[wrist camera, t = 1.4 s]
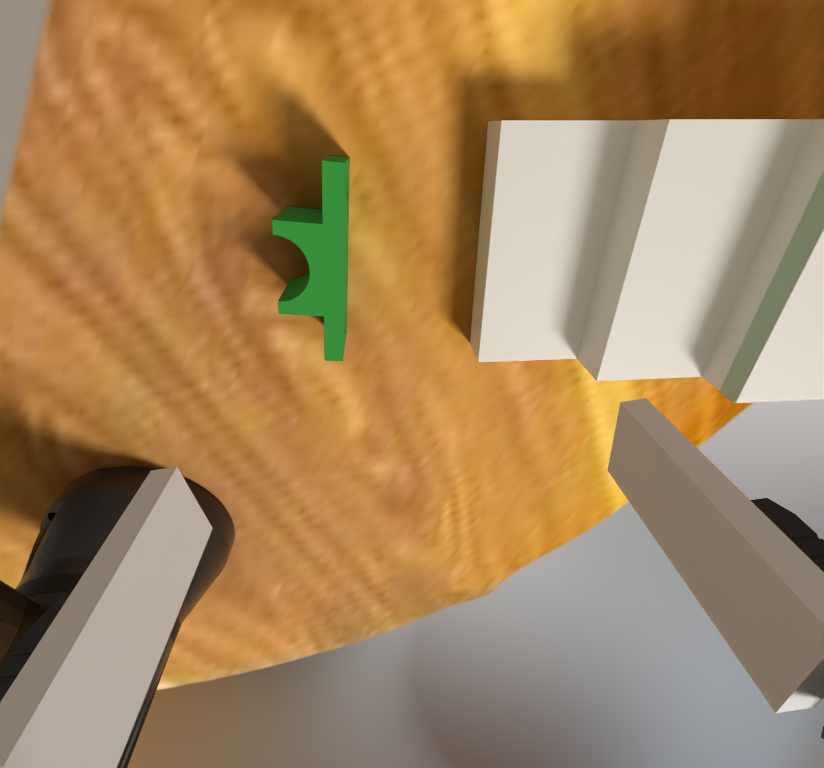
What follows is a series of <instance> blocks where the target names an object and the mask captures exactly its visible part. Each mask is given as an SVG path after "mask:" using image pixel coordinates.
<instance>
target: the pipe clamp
mask: <svg viewBox="0 0 824 768" xmlns="http://www.w3.org/2000/svg"><path fill="white" fill-rule="evenodd" d="M349 164H350V157H341V156H331V155H330V156H328V157H327V158H325V159H323V160H322V209H311V208H300V207H289V206H287V207H286V208H285V209H283V210H282V211H281V212H280V213H279V214H278V215H277V216H276V217H274V218H273V219H272V230H273V235H278V236H282V237H284V238H286V239H289V240H290V241H292V242H293V243H295V244H296V245H297V246H298V247H299V248H300V249H301V250H302V252H303V253H304V255H305V257H306V259H307V261H308V264H309V269H310V273H309V274H307V275H305V276H303V277H300V278H291V279H290V281H289V283H288V285H287V286H286V288H285V290H284V292H283V293H282V295H281V297H280V299H279V301H278V309H279V314H293V315H309V316H324V351H325V360H327V361H343V354H344V347H345V341H346V334H347V284H348V224H349Z"/></svg>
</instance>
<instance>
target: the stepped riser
mask: <svg viewBox="0 0 824 768" xmlns="http://www.w3.org/2000/svg"><path fill="white" fill-rule="evenodd" d="M470 344H471V347H472V349H473V351H474V353H475V356H476V358H477V360H478V362H497V361H524V360H551V359H578V360H579V361H580V362H581V364H582V365H583V366H584V367H585V368H586V369H587V370H588V372H589V373H590V374H591V375H592V376H593V377H594V379H595V380H596V381H608V380H632V379H657V378H682V377H702V378H704V379H705V380H706V381H708V382H709V383H710V384H712V385H713V386H714V387H716V388H717V389H718V390H719V392H720V393H721V394H723V395H724V396H725V397H726V398H728V399H729V400H730V401H732V402H733V403H748V402H768V401H769V402H770V401H790V400H815V399H824V119H664V120H501V121H488V128H487V140H486V153H485V165H484V177H483V189H482V201H481V214H480V226H479V238H478V250H477V262H476V275H475V287H474V299H473V311H472V323H471V336H470Z"/></svg>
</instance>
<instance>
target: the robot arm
mask: <svg viewBox="0 0 824 768" xmlns="http://www.w3.org/2000/svg"><path fill="white" fill-rule="evenodd" d="M608 472H609V473H610V474H611V476H612V477H613V479H614V480H615V482H616V483H617V485H618V486H619V487H620V489H621V490H622V492H623V493H624V495H625V496H626V498H627V499H628V500H629V502H630V503H631V505H632V506H633V508H634V509H635V511H636V512H637V513H638V515H639V516H640V518H641V519H642V520H643V522H644V524H645V525H646V526H647V528H648V529H649V531H650V532H651V534H652V535H653V537H654V538H655V539H656V541H657V542H658V544H659V545H660V547H661V548H662V549H663V551H664V552H665V554H666V555H667V557H668V558H669V559H670V561H671V562H672V564H673V565H674V567H675V568H676V570H677V571H678V573H679V574H680V575H681V577H682V578H683V580H684V581H685V583H686V584H687V586H688V587H689V588H690V590H691V591H692V593H693V594H694V596H695V597H696V599H697V600H698V602H699V603H700V604H701V606H702V607H703V608H704V610H705V612H706V613H707V614H708V616H709V617H710V619H711V620H712V622H713V623H714V625H715V626H716V628H717V629H718V630H719V632H720V633H721V635H722V636H723V637H724V639H725V641H726V642H727V643H728V645H729V646H730V648H731V649H732V651H733V652H734V654H735V655H736V656H737V658H738V659H739V661H740V662H741V664H742V665H743V666H744V668H745V669H746V671H747V672H748V674H749V675H750V677H751V678H752V680H753V681H754V682H755V684H756V685H757V687H758V688H759V690H760V691H761V693H762V694H763V695H764V697H765V698H766V700H767V701H768V702H769V704H770V706H771V707H772V708H773V710H774V711H775V712H776V713H779V712H786V711H792V710H799V709H805V708H812V707H815V706H816V705H817V704H818V703H819V702H820V701H821V700H822V699H823V698H824V540H823V539H819V538H818V536H817V534H816V533H815V532H814V531H813V530H812V529H811V528H810V527H809V526H807V525H806V524H805V523H804V522H803V521H802V520H801V519H800V518H799V517H797V516H796V515H795V514H794V513H792V512H790V511H789V510H787V509H785V508H783V507H782V506H780V505H778V504H777V503H775V502H773V501H771V500H770V499H768V498H763V499H756V500H749V499H748V498H747V497H746V496H745V495H744V494H743V493H742V492H741V491H740V490H739V489H738V488H737V487H736V486H735V485H734V484H733V483H732V482H731V481H730V480H729V479H728V478H727V477H726V476H725V475H724V474H723V473H722V472H721V471H719V469H718V468H716V467H715V466H714V464H712V462H711V461H709V460H708V459H707V458H706V457H705V456H704V455H703V454H702V453H701V452H700V451H699V450H698V449H697V448H696V447H695V446H694V445H693V444H692V443H691V442H690V441H689V440H688V439H687V438H686V437H685V436H684V435H683V434H682V433H681V432H680V431H679V430H678V429H677V428H676V427H675V426H674V425H673V424H672V423H671V422H670V421H669V420H668V419H667V418H666V417H665V416H664V415H663V414H662V413H660V412H659V411H658V410H657V409H656V408H655V407H654V406H653V405H652V404H651V403H650V402H649V401H648V400H647V399H639V400H633V401H626V402H620V408H619V413H618V418H617V424H616V429H615V434H614V440H613V445H612V450H611V455H610V461H609V466H608ZM234 537H235V531H234V525H233V522H232V520H231V517H230V516H229V514H228V512H227V511H226V509H225V508H224V507H223V506H222V505H221V503H220V502H219V501H218V500H217V499H215V498H214V497H213V496H212V495H211V494H209V493H208V492H207V491H205V490H203V489H202V488H200V487H199V486H197V485H195V484H193V483H191V482H189V481H187V480H185V479H184V478H183V476H182V474H181V473H180V471H179V469H178V467H172V468H165V469H158V470H150V469H142V468H111V469H104V470H99V471H95V472H92V473H89V474H87V475H84V476H82V477H80V478H78V479H77V480H75V481H74V482H72V483H71V484H70V485H69V486H68V487H67V488H66V489H65V490H64V491H63V492H62V494H61V495H60V496H59V497H58V498H57V499H56V501H55V502H54V503H53V504H52V505H51V507H50V508H49V509H48V511H47V513H46V514H45V516H44V519H43V521H42V524H41V529H40V533H39V534H38V537H37V539H36V541H35V544H34V546H33V549H32V552H31V554H30V557H29V560H28V563H27V566H26V568H25V571H24V574H23V577H22V579H21V582H20V583H19V585H18V586H17V588H16V589H14V588H12V587H10V586H9V585H7V584H5V583H4V582H2V581H1V580H0V768H127V766H128V764H129V761H130V759H131V756H132V753H133V751H134V748H135V745H136V743H137V740H138V737H139V734H140V732H141V729H142V727H143V724H144V721H145V719H146V716H147V713H148V711H149V708H150V705H151V703H152V700H153V697H154V695H155V692H156V690H157V687H158V684H159V682H160V679H161V676H162V674H163V671H164V668H165V666H166V663H167V660H168V658H169V655H170V652H171V649H172V647H173V644H174V642H175V639H176V637H177V634H178V632H179V629H180V627H181V625H182V623H183V621H184V620H185V618H186V617H187V616H188V614H189V613H190V612H191V610H192V609H193V608H194V607H195V605H196V604H197V603H198V601H199V600H200V599H201V598H202V596H203V595H204V594H205V592H206V591H207V590H208V588H209V587H210V585H211V584H212V583H213V581H214V580H215V579H216V578H217V577H218V575H219V574H220V573H221V571H222V570H223V568H224V566H225V564H226V562H227V560H228V557H229V554H230V551H231V548H232V545H233V542H234ZM821 738H823V739H824V726H823V730H822V735H821Z"/></svg>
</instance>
